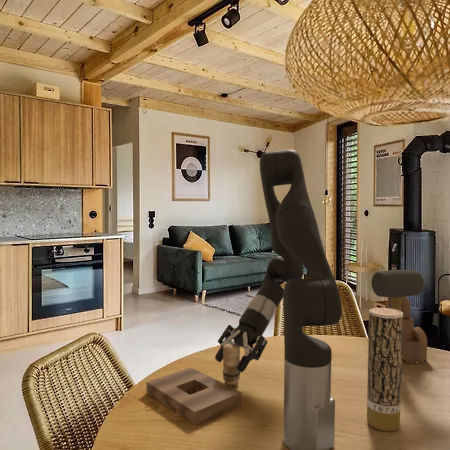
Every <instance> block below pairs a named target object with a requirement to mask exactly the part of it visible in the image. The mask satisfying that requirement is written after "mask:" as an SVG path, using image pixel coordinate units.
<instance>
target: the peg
mask: <svg viewBox="0 0 450 450" xmlns="http://www.w3.org/2000/svg"><path fill="white" fill-rule="evenodd" d="M240 360H241V347H240V346H239V345H236V344H227V345H224V346H223V360H222V363H223V364H222V368H223V370H222V378H223V380H224V384H226V385H228V386H230V387H232V388H233V387H236V386H238V385H239V380H240V375H241V372H240V371H238V370H237V368H236V367H237V365H238V363H239V362H240Z"/></svg>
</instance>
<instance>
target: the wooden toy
mask: <svg viewBox="0 0 450 450" xmlns="http://www.w3.org/2000/svg"><path fill="white" fill-rule="evenodd" d="M407 297H408V296H406V297H401V312H402V313H403V348H402V361H404V360H406V361H408V362H410V363H409V364H411V363H416V362H420V361H423V360H428V359H427V358H428V338H427V335H426V333H425V331H424V330H423V329H422V328H421V327H420V326H417V327H415V325H414V324H415V320H414V318H412V317H411V302H410V301H409V299H408V298H407ZM386 308H390V309H392V297H387V306H386ZM406 361H405V362H406ZM408 362H407V363H408ZM423 362H424V361H423ZM420 363H421V362H420ZM416 364H417V363H416Z"/></svg>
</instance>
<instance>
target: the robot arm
mask: <svg viewBox="0 0 450 450" xmlns="http://www.w3.org/2000/svg"><path fill="white" fill-rule="evenodd" d="M259 172H260V179H261V185H262V186H261V187H262V191H263V197H264V201H265V208H266V212H267V216H268V221H269V227H270V241H271V248H272V249H271V250H272V252H273V253H275V254H276V256H274V257H272V258H271V259H270V260H269V262H268V265H267V267H266V271H265V275H264V278H263V282H262V284H261V286H260V287H259V289H258V291H257V292H256V294H255V296H254V297H252V299H251V301H249V304H248V305H247V307H246V308H245V310H244V312H243V313H242V315H241V316H240V318H239V320H238V325H237V326H236V328H235V327H233V326H232V325H231V324H228V325H227V326H226V328H225V329H224V331H223V332H222V334H221V335H220V336H219V338H218V340H217V343H219V345H220V346H219V349H218V351H217V352H216V354H215V355H214V359H215V361H217V362H218V363H222V362H223V346H224V345H227V344H236V345H239V346H240V348H243V349H244V355H242V356H241V357H240V362H239V363H238V365H237V367H236V368H237V370H238V371H240V373H243V372H244V371H245V370H246V369H247V367H248V365H249V364H250V362H251V361H253V360H255V361H259V360H260V358H261V356H262V354H263V352H264V350H265V349H266V347H267V344H268V340H267V339H266V338H265V336H263V334H264V333H265V331H266V330H267V327H269V325H270V323H271V321H272V319H273V318H274V316H275V313H276V311H277V309H278V307H279V305H280V304H281V302H282V301H283V302H282V307H283V308H282V309H283V331H284V333H283V335H284V336H283V338H284V340H283V342H284V344H283V345H284V353H283V354H284V359H283V362H284V363H283V365H284V366H283V367H284V368H283V369H284V370H283V443H284V445H285V447H287V448H288V449H289V450H331V449H333V447H335V434H336V433H335V429H336V428H335V426H336V425H335V421H336V419H335V418H336V400H335V399H334V398H332V397H331V396H332V357H333V356H332V352H333V351H332V347H331V346H330V345H329V344H328V343H327V342H325V340H321V339H319V338H315V337H313V336H311V335H309V334H306V333H305V332H304V329H303V327H323V326H326V327H327V326H328V327H329V326H334V325H336V324H338V323H339V322H340V320H341V319H342V312H343V305H342V304H343V303H342V299H341V298H342V297H341V293H340V291H339V288H338V285H337V281H336V278H335V277H334V274H333V271H332V269H331V266H330V264H329V260H328V258H327V255H326V253H325V249H324V246H323V243H322V238H321V235H320V230H319V226H318V223H317V222H318V221H317V219H316V215H315V212H314V208H313V206H312V203H311V200H310V196H309V193H308V189H307V185H306V184H307V183H306V180H305V173H304V169H303V164H302V159H301V156H300V154H299V152H298V151H297V150H296V149H283V150H275V151H267V152H266V151H265V152H262V153H261V155H260V158H259ZM286 185H290V187H289V190H288V192H287V193H286V194H285V196H284V197H283V199H282V200H281V202H280V201H279V198H277V195H276V192H275V188H274V187H278V186H286ZM304 268H305V269H306V271H307V273H308V274H309V276H310V278H303V276H304ZM278 281H281V282H284V287H282V286H281V284H278V283H277V282H278Z"/></svg>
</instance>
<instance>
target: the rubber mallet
mask: <svg viewBox="0 0 450 450" xmlns="http://www.w3.org/2000/svg"><path fill="white" fill-rule="evenodd" d="M424 283H425V282H424V278H423V276H422V274H421V273H420V272H419V271H417V270H416V269H415V270H411V269H390V270H389V269H388V270H381V271H376V272H374V273H373V275H372V278H371V289H372V291H373V293H374V294H375V295H376V296H377V297H379V298H380V297H382V298H388V297H392V309H395V310H399V311H401V297H413V296H418V295H420V294H421V293H422V292H423V290H424V286H425V284H424ZM402 348H403V336H402ZM403 373H404V370H403V368H402V373H401V376H402V375H403Z"/></svg>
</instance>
